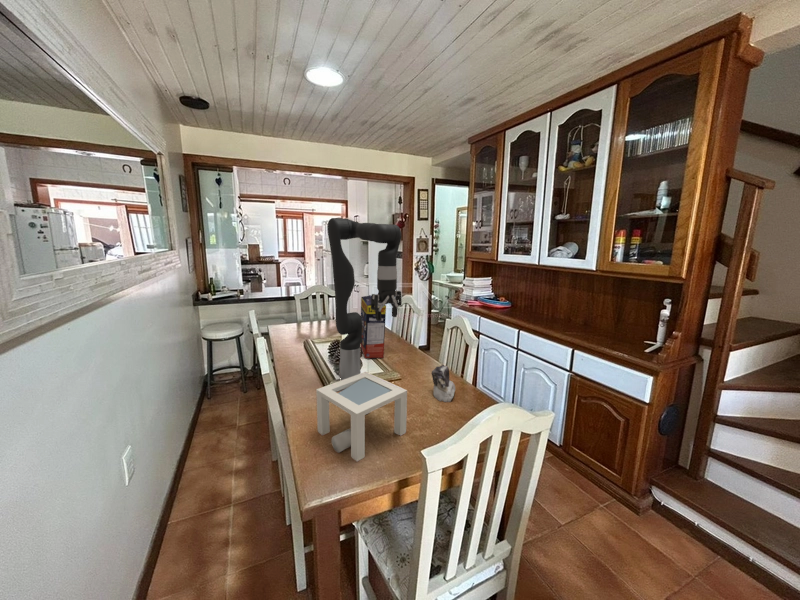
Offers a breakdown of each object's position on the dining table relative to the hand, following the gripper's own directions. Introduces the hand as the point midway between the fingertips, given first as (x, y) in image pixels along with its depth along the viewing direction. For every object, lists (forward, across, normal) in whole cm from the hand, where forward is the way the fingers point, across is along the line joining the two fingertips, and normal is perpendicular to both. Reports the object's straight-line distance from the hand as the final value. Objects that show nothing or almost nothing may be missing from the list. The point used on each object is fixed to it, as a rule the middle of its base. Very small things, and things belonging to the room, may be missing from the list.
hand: (386, 318), depth 130 cm
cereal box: (+36, -37, -51) cm, 73 cm away
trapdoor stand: (+36, +20, +9) cm, 42 cm away
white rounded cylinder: (+34, +27, +12) cm, 44 cm away
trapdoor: (+22, +20, +9) cm, 31 cm away
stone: (+36, -23, +12) cm, 45 cm away
